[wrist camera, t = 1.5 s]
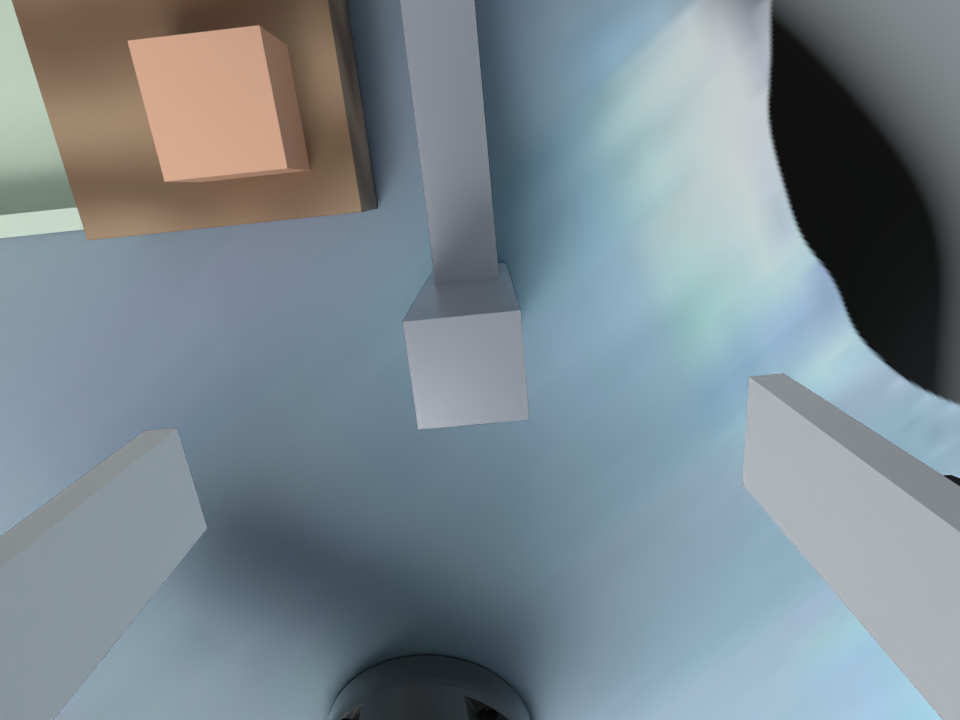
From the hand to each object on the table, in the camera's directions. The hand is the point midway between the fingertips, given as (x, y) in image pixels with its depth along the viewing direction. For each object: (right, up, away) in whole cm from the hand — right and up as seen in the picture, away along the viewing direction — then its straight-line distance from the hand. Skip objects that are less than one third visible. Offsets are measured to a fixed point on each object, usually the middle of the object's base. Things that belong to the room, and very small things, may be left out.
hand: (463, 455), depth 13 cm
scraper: (-1, +15, +15) cm, 21 cm away
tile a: (-10, +13, +11) cm, 20 cm away
